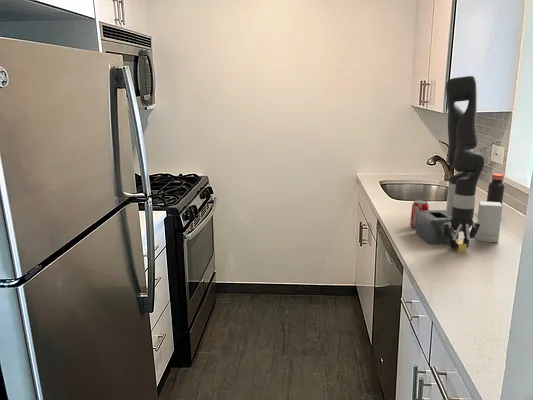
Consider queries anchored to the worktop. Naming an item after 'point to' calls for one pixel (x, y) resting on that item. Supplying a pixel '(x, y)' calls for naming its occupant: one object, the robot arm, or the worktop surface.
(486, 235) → the skincare box
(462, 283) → the worktop surface
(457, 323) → the worktop surface
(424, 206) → the soda can
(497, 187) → the bottle
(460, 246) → the wooden block
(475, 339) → the worktop surface
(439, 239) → the box
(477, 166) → the robot arm
